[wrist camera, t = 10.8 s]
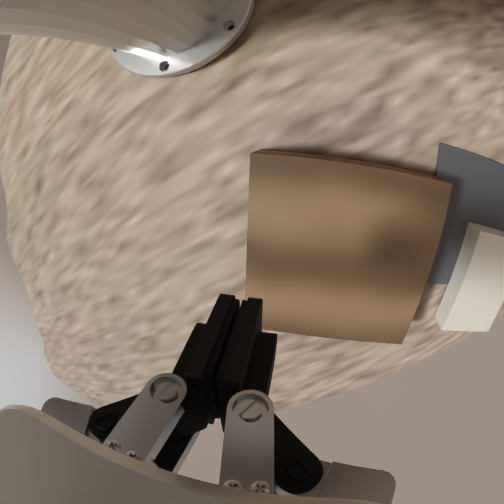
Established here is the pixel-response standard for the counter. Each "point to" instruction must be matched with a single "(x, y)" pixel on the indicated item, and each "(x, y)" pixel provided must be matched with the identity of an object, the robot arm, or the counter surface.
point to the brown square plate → (340, 244)
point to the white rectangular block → (475, 282)
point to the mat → (466, 203)
